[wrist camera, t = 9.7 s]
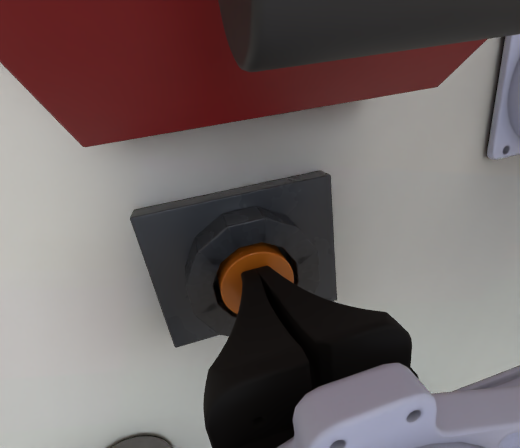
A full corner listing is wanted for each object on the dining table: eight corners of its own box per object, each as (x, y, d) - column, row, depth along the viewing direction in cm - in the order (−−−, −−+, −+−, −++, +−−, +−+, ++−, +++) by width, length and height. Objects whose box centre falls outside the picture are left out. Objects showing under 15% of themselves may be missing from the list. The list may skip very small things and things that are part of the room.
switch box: (320, 170, 16) (349, 182, 13) (328, 289, 19) (352, 318, 16) (133, 209, 14) (121, 232, 12) (175, 333, 17) (174, 374, 15)
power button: (278, 229, 15) (290, 243, 13) (286, 287, 16) (297, 306, 15) (209, 246, 14) (213, 263, 13) (223, 305, 16) (228, 326, 14)
